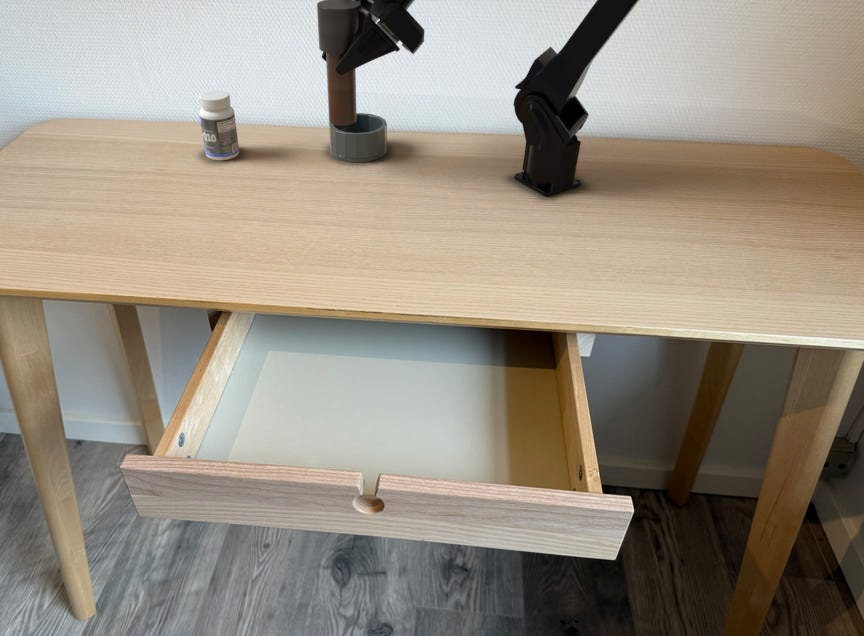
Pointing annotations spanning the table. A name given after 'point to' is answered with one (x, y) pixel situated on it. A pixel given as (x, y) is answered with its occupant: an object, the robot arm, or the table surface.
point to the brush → (338, 56)
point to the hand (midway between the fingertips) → (330, 66)
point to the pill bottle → (218, 125)
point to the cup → (359, 139)
